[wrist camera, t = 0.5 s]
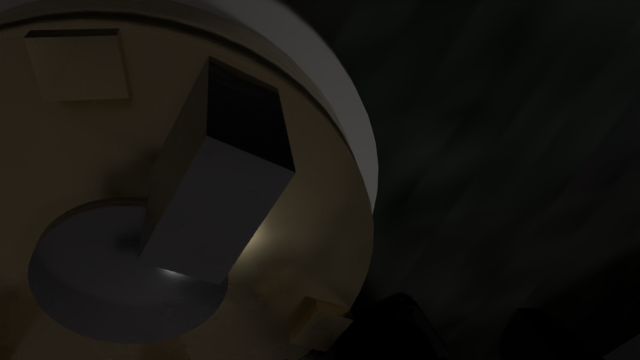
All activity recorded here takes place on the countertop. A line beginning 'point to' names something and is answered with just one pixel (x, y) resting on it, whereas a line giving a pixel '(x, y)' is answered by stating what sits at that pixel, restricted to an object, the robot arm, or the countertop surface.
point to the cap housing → (301, 66)
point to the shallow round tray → (169, 190)
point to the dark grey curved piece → (626, 350)
